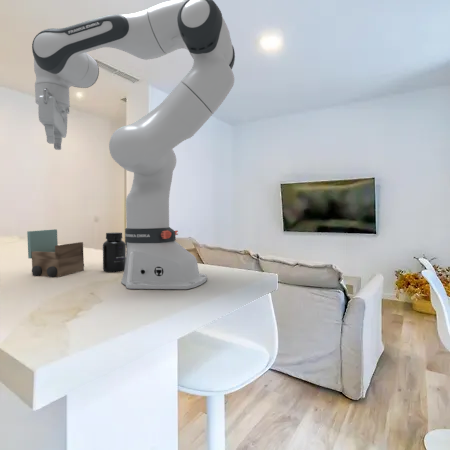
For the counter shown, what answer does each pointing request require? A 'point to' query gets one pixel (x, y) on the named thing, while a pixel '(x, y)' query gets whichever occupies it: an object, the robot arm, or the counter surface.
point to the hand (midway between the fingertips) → (54, 146)
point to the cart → (59, 261)
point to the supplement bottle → (114, 253)
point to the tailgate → (41, 241)
